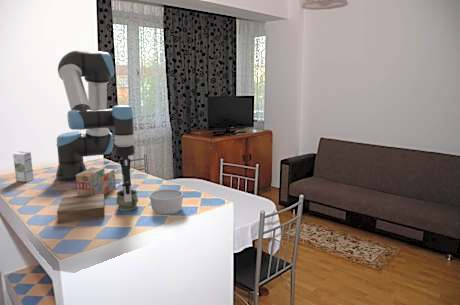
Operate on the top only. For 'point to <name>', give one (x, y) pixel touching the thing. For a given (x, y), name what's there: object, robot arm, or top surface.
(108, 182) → the stack of blocks
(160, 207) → the ramekin
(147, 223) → the top surface
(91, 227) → the top surface
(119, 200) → the vessel
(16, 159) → the syrup box
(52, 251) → the top surface
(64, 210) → the walnut block
